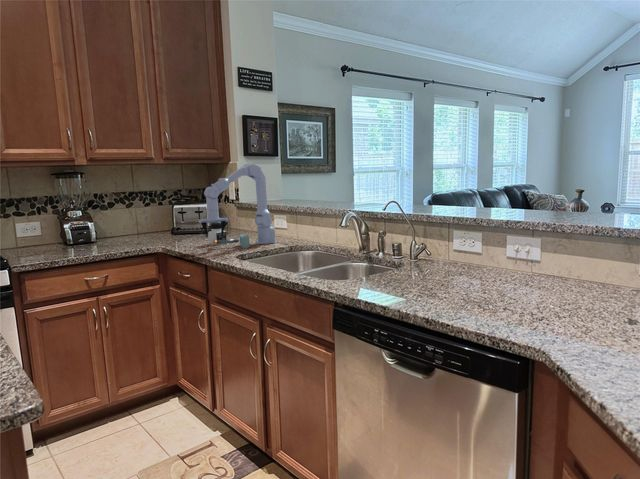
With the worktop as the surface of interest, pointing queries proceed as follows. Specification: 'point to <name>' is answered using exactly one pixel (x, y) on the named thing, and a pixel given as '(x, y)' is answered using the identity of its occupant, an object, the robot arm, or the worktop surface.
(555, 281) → the worktop surface
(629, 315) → the worktop surface
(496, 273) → the worktop surface
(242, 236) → the block
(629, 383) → the worktop surface
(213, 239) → the t-handle rod
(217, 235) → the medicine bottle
